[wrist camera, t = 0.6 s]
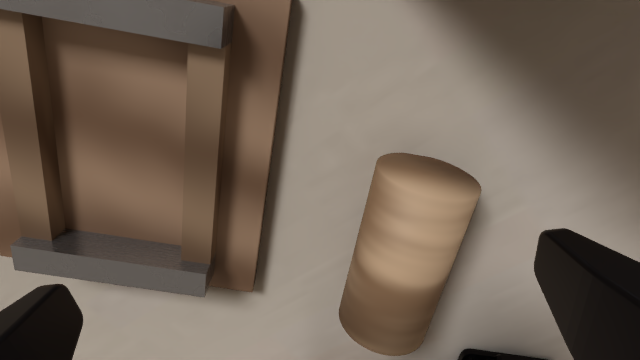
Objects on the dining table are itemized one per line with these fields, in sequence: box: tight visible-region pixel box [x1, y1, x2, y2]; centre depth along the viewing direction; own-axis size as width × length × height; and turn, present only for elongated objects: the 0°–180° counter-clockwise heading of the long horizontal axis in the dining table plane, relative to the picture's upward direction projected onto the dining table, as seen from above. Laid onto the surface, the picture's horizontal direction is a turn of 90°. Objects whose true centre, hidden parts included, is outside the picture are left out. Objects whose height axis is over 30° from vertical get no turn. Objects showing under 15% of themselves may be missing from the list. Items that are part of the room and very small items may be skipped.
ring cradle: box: [0, 0, 292, 297], centre depth 19 cm, size 16×14×3 cm
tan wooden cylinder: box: [339, 153, 481, 356], centre depth 21 cm, size 9×5×5 cm, turn 170°
